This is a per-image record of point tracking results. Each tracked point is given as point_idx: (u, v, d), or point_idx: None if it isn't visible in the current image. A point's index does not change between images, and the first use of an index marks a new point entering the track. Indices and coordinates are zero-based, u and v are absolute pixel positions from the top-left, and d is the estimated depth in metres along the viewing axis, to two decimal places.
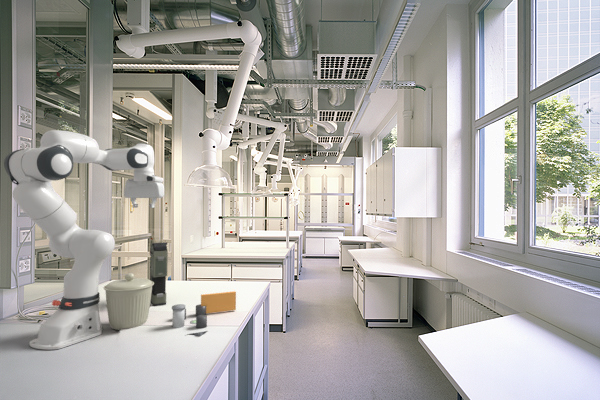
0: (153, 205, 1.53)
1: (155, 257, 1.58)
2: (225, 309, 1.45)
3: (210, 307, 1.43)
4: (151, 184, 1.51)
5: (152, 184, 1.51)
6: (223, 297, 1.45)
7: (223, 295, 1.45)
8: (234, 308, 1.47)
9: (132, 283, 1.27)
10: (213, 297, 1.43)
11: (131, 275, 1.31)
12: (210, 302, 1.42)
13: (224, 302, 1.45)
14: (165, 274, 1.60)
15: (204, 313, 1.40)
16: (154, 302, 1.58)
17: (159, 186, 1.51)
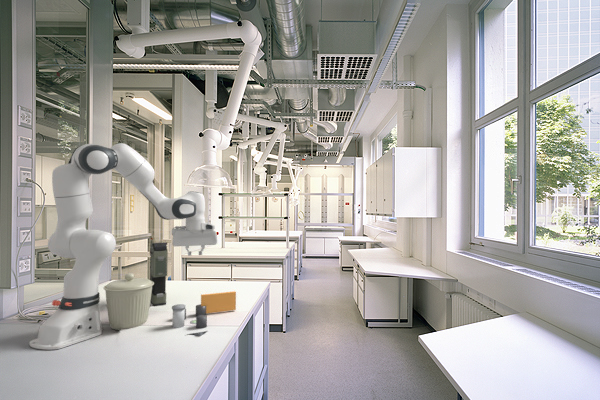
0: (201, 252, 1.56)
1: (155, 257, 1.58)
2: (225, 309, 1.45)
3: (210, 307, 1.43)
4: (209, 232, 1.55)
5: (210, 232, 1.55)
6: (223, 297, 1.45)
7: (223, 295, 1.45)
8: (234, 308, 1.47)
9: (132, 283, 1.27)
10: (213, 297, 1.43)
11: (131, 275, 1.31)
12: (210, 302, 1.42)
13: (224, 302, 1.45)
14: (165, 274, 1.60)
15: (204, 313, 1.40)
16: (154, 302, 1.58)
17: (216, 234, 1.57)
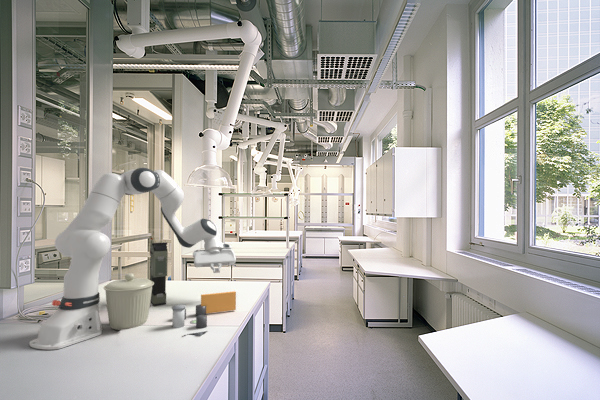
0: (219, 270, 1.60)
1: (155, 257, 1.58)
2: (225, 309, 1.45)
3: (210, 307, 1.43)
4: (227, 251, 1.66)
5: (228, 251, 1.67)
6: (223, 297, 1.45)
7: (223, 295, 1.45)
8: (234, 308, 1.47)
9: (132, 283, 1.27)
10: (213, 297, 1.43)
11: (131, 275, 1.31)
12: (210, 302, 1.42)
13: (224, 302, 1.45)
14: (165, 274, 1.60)
15: (204, 313, 1.40)
16: (154, 302, 1.58)
17: None
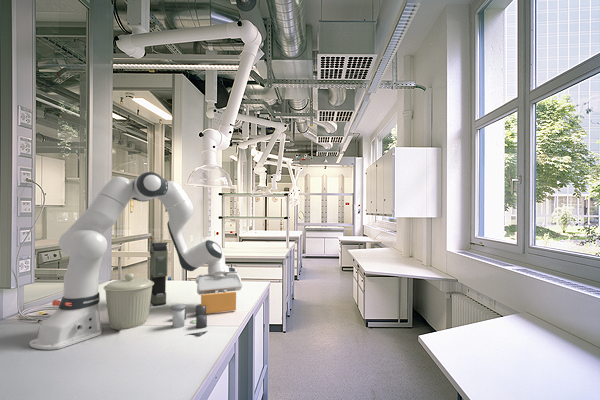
0: None
1: (155, 257, 1.58)
2: (225, 309, 1.45)
3: (210, 307, 1.42)
4: (232, 275, 1.54)
5: (233, 275, 1.54)
6: (223, 297, 1.44)
7: (223, 295, 1.44)
8: (234, 308, 1.46)
9: (132, 283, 1.27)
10: (213, 297, 1.43)
11: (131, 275, 1.31)
12: (210, 302, 1.42)
13: (224, 302, 1.45)
14: (165, 274, 1.60)
15: (204, 313, 1.40)
16: (154, 302, 1.58)
17: None
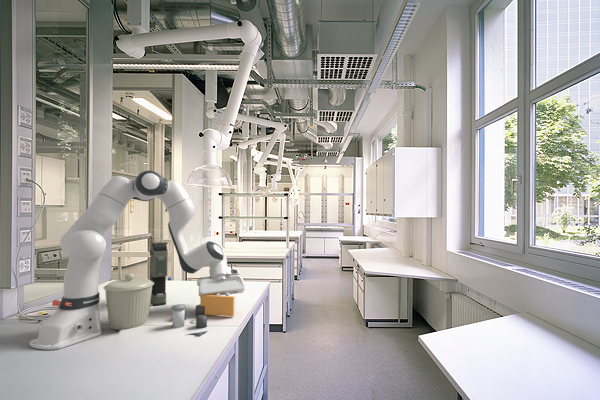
0: None
1: (155, 257, 1.58)
2: (222, 313, 1.39)
3: (209, 309, 1.40)
4: (234, 277, 1.50)
5: (236, 277, 1.50)
6: (221, 301, 1.39)
7: (221, 298, 1.39)
8: (231, 314, 1.38)
9: (132, 283, 1.27)
10: (211, 299, 1.40)
11: (131, 275, 1.31)
12: (208, 304, 1.40)
13: (222, 306, 1.39)
14: (165, 274, 1.60)
15: (201, 314, 1.40)
16: (154, 302, 1.58)
17: None
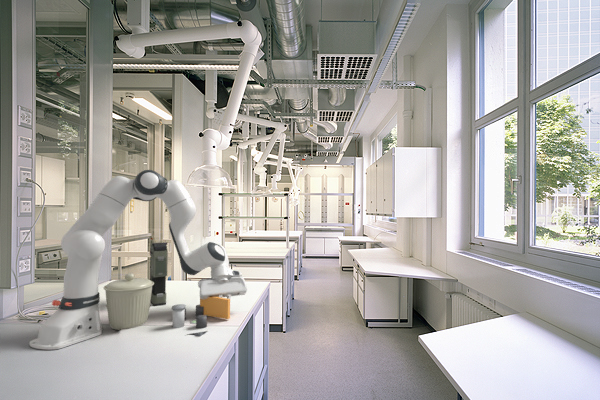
0: None
1: (155, 257, 1.58)
2: (218, 315, 1.36)
3: (207, 310, 1.39)
4: (236, 279, 1.47)
5: (238, 279, 1.47)
6: (217, 302, 1.37)
7: (217, 300, 1.37)
8: (226, 317, 1.35)
9: (132, 283, 1.27)
10: (209, 299, 1.39)
11: (131, 275, 1.31)
12: (206, 304, 1.39)
13: (218, 308, 1.37)
14: (165, 274, 1.60)
15: (200, 314, 1.39)
16: (154, 302, 1.58)
17: None
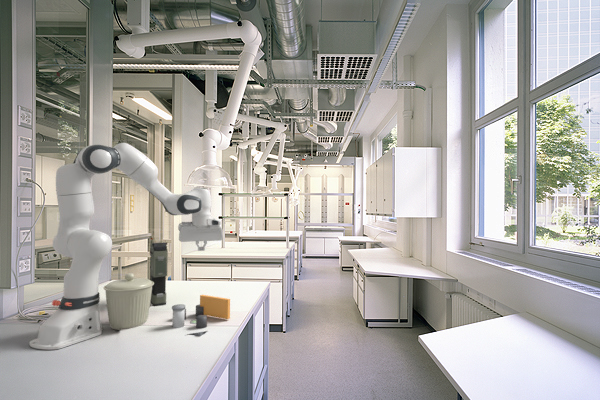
0: None
1: (155, 257, 1.58)
2: (218, 315, 1.36)
3: (207, 310, 1.39)
4: (215, 228, 1.56)
5: (216, 228, 1.57)
6: (217, 302, 1.37)
7: (217, 300, 1.37)
8: (226, 317, 1.35)
9: (132, 283, 1.27)
10: (209, 299, 1.39)
11: (131, 275, 1.31)
12: (206, 304, 1.39)
13: (218, 308, 1.37)
14: (165, 274, 1.60)
15: (200, 314, 1.39)
16: (154, 302, 1.58)
17: None
